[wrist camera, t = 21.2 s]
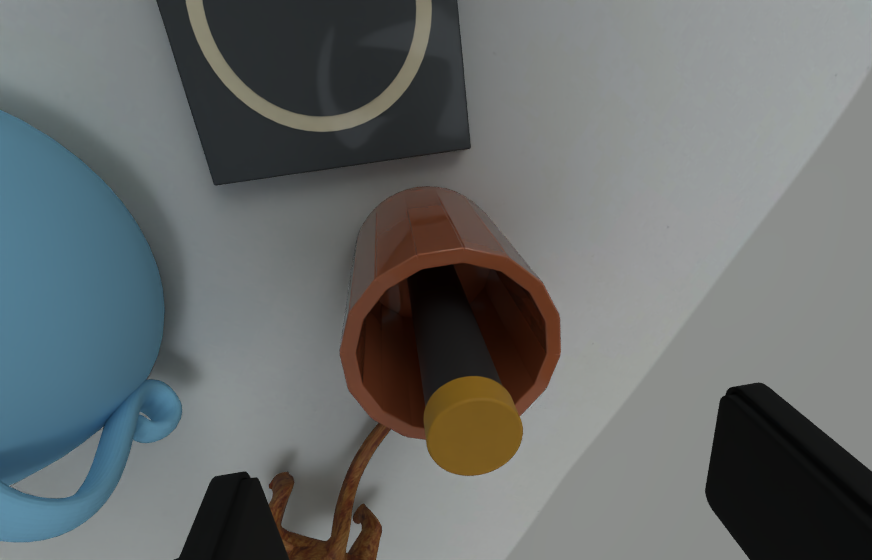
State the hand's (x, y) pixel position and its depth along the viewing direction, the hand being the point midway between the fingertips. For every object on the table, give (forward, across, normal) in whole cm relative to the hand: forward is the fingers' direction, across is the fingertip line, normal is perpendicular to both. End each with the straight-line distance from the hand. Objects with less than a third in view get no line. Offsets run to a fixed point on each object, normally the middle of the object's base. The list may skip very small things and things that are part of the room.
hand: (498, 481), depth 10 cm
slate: (+15, +3, -10) cm, 18 cm away
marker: (+14, 0, +1) cm, 14 cm away
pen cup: (+15, 0, +1) cm, 15 cm away
